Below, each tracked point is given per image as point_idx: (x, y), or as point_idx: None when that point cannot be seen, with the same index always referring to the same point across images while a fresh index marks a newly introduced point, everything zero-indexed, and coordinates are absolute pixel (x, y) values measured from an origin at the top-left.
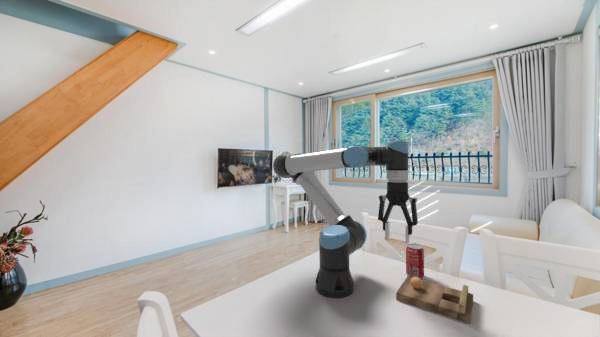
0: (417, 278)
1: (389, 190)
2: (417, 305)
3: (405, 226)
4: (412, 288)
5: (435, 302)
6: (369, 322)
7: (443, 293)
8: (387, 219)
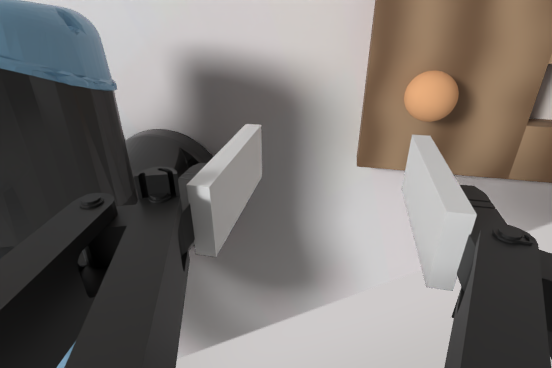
0: (440, 106)
1: None
2: None
3: (425, 283)
4: None
5: (498, 162)
6: (319, 280)
7: (546, 64)
8: (178, 218)
